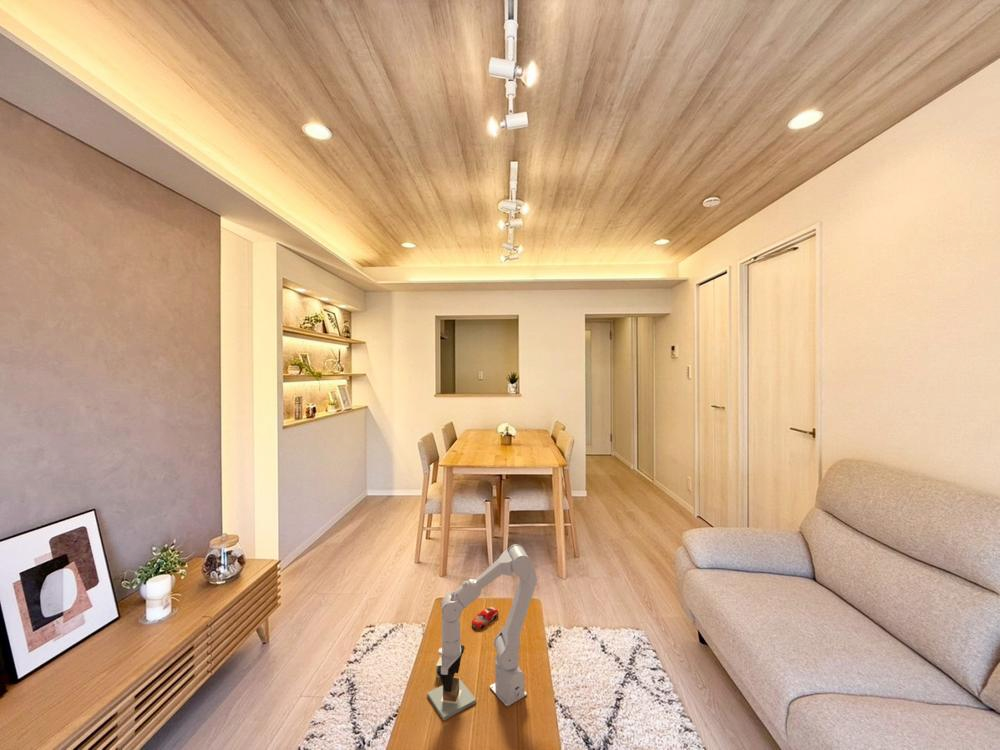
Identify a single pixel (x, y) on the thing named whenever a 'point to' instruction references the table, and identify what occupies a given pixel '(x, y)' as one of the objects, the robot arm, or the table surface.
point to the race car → (485, 618)
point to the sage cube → (438, 665)
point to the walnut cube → (452, 691)
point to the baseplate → (451, 707)
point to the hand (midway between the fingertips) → (451, 681)
